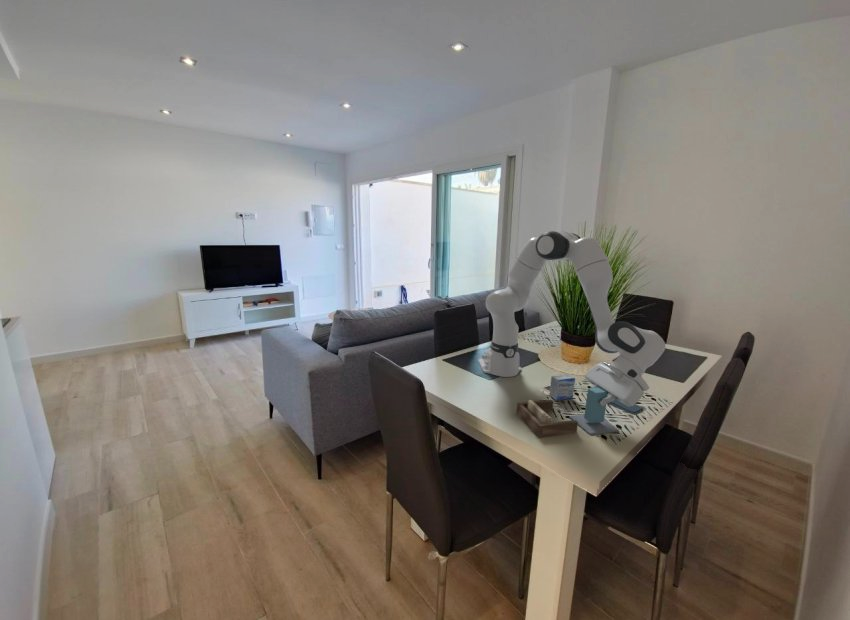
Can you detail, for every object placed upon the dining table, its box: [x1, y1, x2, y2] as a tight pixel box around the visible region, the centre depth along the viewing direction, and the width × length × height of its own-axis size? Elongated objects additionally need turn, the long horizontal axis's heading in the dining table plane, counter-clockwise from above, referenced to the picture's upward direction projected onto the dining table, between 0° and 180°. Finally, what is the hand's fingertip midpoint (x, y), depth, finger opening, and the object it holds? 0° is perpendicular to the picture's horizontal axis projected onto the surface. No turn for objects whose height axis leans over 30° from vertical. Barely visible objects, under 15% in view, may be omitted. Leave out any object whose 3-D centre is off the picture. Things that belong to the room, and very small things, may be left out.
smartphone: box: [607, 399, 644, 415], centre depth 134 cm, size 8×2×15 cm
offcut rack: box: [515, 399, 579, 438], centre depth 119 cm, size 15×14×4 cm
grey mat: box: [568, 413, 620, 436], centre depth 119 cm, size 11×11×1 cm
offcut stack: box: [527, 399, 552, 424], centre depth 118 cm, size 9×4×6 cm, turn 13°
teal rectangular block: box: [583, 387, 608, 423], centre depth 117 cm, size 4×5×11 cm
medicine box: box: [549, 374, 576, 401], centre depth 137 cm, size 8×4×9 cm, turn 106°
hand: (595, 400), depth 117 cm, fingers closed on teal rectangular block, 3 cm apart
